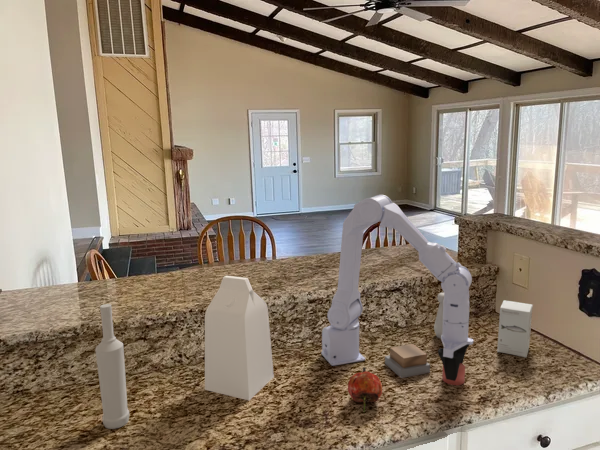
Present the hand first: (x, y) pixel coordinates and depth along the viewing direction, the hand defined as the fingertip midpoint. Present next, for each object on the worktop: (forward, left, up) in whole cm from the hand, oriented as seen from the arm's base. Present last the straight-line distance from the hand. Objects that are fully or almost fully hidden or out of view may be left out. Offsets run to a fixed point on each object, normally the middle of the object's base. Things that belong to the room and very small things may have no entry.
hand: (453, 374), depth 108 cm
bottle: (-75, +9, -2) cm, 76 cm away
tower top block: (-7, +9, +1) cm, 11 cm away
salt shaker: (+13, +22, -2) cm, 26 cm away
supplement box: (+25, +8, -2) cm, 26 cm away
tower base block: (-7, +9, -2) cm, 12 cm away
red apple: (-24, -2, -2) cm, 24 cm away
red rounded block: (0, 0, -1) cm, 1 cm away
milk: (-48, +16, -2) cm, 51 cm away
